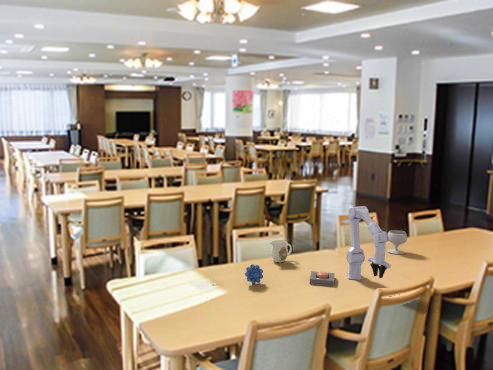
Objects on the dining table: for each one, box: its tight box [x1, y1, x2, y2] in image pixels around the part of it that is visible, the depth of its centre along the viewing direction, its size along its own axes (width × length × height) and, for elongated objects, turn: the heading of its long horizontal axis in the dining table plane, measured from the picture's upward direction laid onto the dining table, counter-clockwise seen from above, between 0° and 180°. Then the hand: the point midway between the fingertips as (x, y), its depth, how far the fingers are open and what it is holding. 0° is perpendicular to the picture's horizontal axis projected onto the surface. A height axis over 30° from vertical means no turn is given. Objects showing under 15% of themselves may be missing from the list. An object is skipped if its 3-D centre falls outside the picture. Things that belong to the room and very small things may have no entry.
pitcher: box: [269, 239, 293, 263], centre depth 316 cm, size 11×18×14 cm, turn 122°
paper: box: [205, 282, 217, 298], centre depth 267 cm, size 25×17×1 cm
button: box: [316, 271, 329, 279], centre depth 281 cm, size 7×7×2 cm
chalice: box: [386, 229, 408, 255], centre depth 343 cm, size 14×14×15 cm
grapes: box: [244, 263, 264, 285], centre depth 273 cm, size 12×7×12 cm, turn 114°
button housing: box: [309, 270, 335, 287], centre depth 282 cm, size 14×14×3 cm
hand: (378, 276), depth 266 cm, fingers open, 3 cm apart
